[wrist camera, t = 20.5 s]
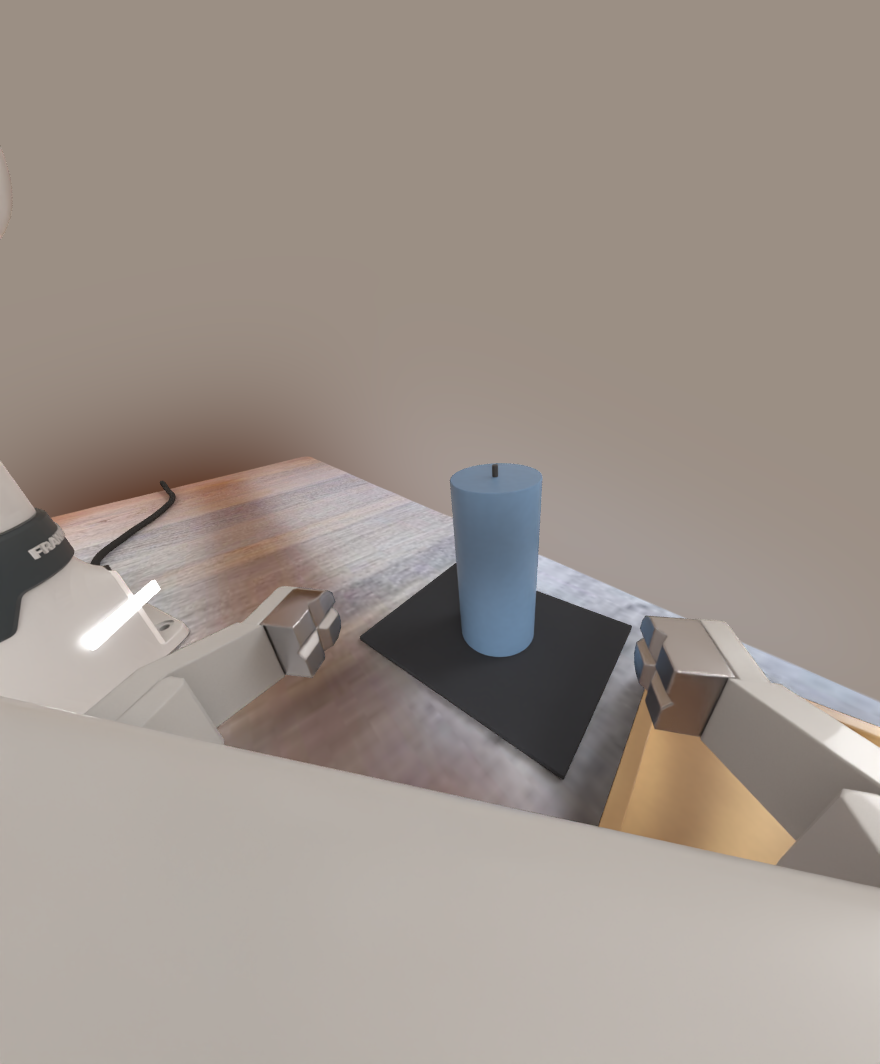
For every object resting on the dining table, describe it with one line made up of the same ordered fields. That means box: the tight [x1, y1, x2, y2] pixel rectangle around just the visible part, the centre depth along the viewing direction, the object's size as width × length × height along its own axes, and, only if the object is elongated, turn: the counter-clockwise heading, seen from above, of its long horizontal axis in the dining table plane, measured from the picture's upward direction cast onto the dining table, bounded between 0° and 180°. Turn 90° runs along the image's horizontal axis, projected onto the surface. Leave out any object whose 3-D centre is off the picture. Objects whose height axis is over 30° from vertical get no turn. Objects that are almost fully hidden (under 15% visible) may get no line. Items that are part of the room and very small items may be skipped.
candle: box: [450, 463, 542, 657], centre depth 25 cm, size 6×6×14 cm
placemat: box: [360, 563, 632, 779], centre depth 28 cm, size 18×14×1 cm
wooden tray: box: [598, 689, 880, 865], centre depth 14 cm, size 16×14×3 cm
